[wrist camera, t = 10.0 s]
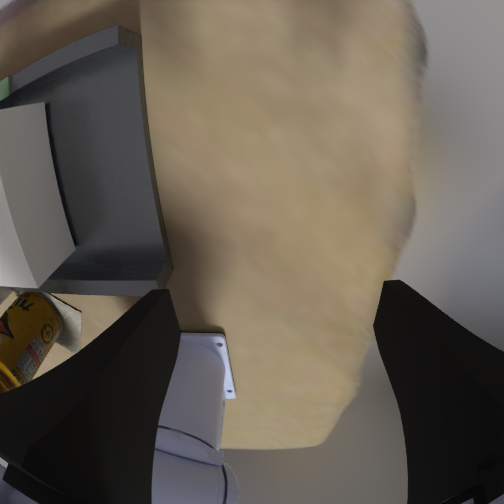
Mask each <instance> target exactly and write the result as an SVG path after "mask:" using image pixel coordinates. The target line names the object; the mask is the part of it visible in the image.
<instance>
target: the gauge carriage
mask: <svg viewBox="0 0 504 504" xmlns="http://www.w3.org/2000/svg"><path fill="white" fill-rule="evenodd" d="M75 250H76V249H75V246H74V243H73V240H72V237H71V233H70V230H69V227H68V223H67V220H66V216H65V213H64V209H63V205H62V201H61V197H60V193H59V189H58V185H57V180H56V176H55V171H54V166H53V161H52V155H51V149H50V143H49V137H48V130H47V122H46V113H45V103H44V102H42V103H35V104H29V105H23V106H17V107H11V108H6V109H1V110H0V286H6V287H22V288H39V287H40V286H41V285H42V284H43V283H44V282H45V281H46V279H47V278H48V277H49V276H50V275H51V274H52V273H53V272H54V271H55V270H56V269H57V268H58V267H59V266H60V265H61V264H62V263H63V262H64V261H65V260H66V259H67V258H68V257H69V256H70V255H71V254H72V253H73V252H74V251H75Z"/></svg>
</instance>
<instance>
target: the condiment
mask: <svg viewBox="0 0 504 504" xmlns="http://www.w3.org/2000/svg"><path fill="white" fill-rule="evenodd" d="M61 313H62V314H63V315H62V314H61ZM81 315H82V313H80V312H79V311H77V310H74V309H73V308H71V307H70V306H68V305H65V304H64V303H62V302H61V301H59V300H57V299H55V298H54V297H52V296H51V295H49V294H48V293H41V292H26V291H19V297H18V298H17V299H16V300H15V301H14V302H13V304H12V305H11V306H10V307H9V308H8V309H7V310H6V311H5V312H4V314H3V315H2V316H1V318H0V394H1V393H4V392H7V391H9V390H12V389H14V388H17V387H19V386H21V385H23V384H25V383H28V382H30V381H31V380H32V379H33V377H34V375H35V374H36V372H37V370H38V368H39V367H40V365H41V364H42V362H43V360H44V359H45V357H46V355H47V354H48V352H49V351H50V349H51V348H52V346H53V344H54V343H55V342H56V343H58V344H60V345H61V346H64V347H65V348H67V349H68V350H70V351H71V352H73V353H75V354H76V353H77V352H79V351H80V336H81ZM64 316H65V317H66V319H65V318H64Z"/></svg>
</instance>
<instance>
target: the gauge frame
mask: <svg viewBox="0 0 504 504" xmlns="http://www.w3.org/2000/svg"><path fill="white" fill-rule="evenodd" d="M42 102H44V103H45V113H46V122H47V130H48V137H49V143H50V149H51V155H52V161H53V166H54V171H55V176H56V180H57V185H58V189H59V193H60V197H61V201H62V205H63V209H64V213H65V216H66V220H67V223H68V227H69V230H70V233H71V237H72V240H73V243H74V246H75V249H76V250H75V251H74V252H73V253H72V254H71V255H70V256H69V257H68V258H67V259H66V260H65V261H64V262H63V263H62V264H61V265H60V266H59V267H58V268H57V269H56V270H55V271H54V272H53V273H52V274H51V275H50V276H49V277H48V278H47V279H46V281H45V282H44V283H43V284H42V285H41V286H40V287H39V288H22V287H6V286H0V305H1V303H2V302H3V301H4V300H5V299H6V298H7V297H8V296H9V295H10V294H11V293H12V291H26V292H41V293H58V294H79V295H106V296H145V295H146V294H147V293H148V292H150V291H151V290H152V289H164V288H165V286H166V284H167V282H168V280H169V278H170V276H171V273H172V271H173V265H172V260H171V256H170V251H169V246H168V242H167V237H166V232H165V227H164V222H163V217H162V211H161V206H160V200H159V195H158V189H157V183H156V177H155V170H154V164H153V157H152V150H151V142H150V135H149V127H148V118H147V109H146V99H145V88H144V75H143V60H142V40H141V35H139V34H137V33H135V32H133V31H131V30H128V29H126V28H124V27H122V26H119V25H116V26H113V27H110V28H107V29H104V30H102V31H99V32H97V33H94V34H92V35H89V36H87V37H84V38H82V39H80V40H78V41H75V42H73V43H71V44H69V45H67V46H65V47H62V48H60V49H58V50H56V51H54V52H52V53H51V54H49V55H47V56H45V57H43V58H41V59H39V60H38V61H36V62H34V63H32V64H31V65H29V66H27V67H26V68H24V69H22V70H21V71H19V72H18V73H16V74H14V75H13V76H11V77H10V76H7V77H6V78H5V79H3V80H2V81H0V110H1V109H6V108H11V107H17V106H23V105H29V104H35V103H42Z"/></svg>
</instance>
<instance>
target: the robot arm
mask: <svg viewBox="0 0 504 504" xmlns="http://www.w3.org/2000/svg"><path fill="white" fill-rule="evenodd" d="M373 328H374V332H375V336H376V341H377V344H378V349H379V352H380V355H381V358H382V360H383V363H384V366H385V369H386V371H387V374H388V377H389V380H390V382H391V385H392V388H393V391H394V394H395V397H396V399H397V403H398V406H399V410H400V414H401V419H402V425H403V431H404V437H405V445H406V454H407V468H408V501H407V504H504V352H503V351H501V350H499V349H497V348H496V347H494V346H492V345H491V344H489V343H487V342H486V341H484V340H482V339H481V338H479V337H478V336H476V335H474V334H473V333H471V332H470V331H468V330H467V329H466V328H464V327H463V326H461V325H460V324H459V323H457V322H456V321H454V320H453V319H452V318H450V317H449V316H448V315H446V314H445V313H444V312H442V311H441V310H440V309H439V308H437V307H436V306H435V305H433V304H432V303H431V302H429V301H428V300H427V299H426V298H424V297H423V296H422V295H420V294H419V293H418V292H416V291H415V290H414V289H412V288H411V287H410V286H408V285H407V284H405V283H404V282H402V281H401V280H389V281H384V283H383V287H382V292H381V296H380V301H379V305H378V309H377V313H376V317H375V321H374V324H373ZM220 343H221V344H220ZM235 397H236V391H235V386H234V381H233V376H232V371H231V365H230V360H229V355H228V349H227V344H226V338H225V336H224V335H223V334H220V333H181V331H180V327H179V324H178V321H177V317H176V314H175V310H174V307H173V303H172V299H171V296H170V292H169V289H152V290H151V291H150V292H148V293H147V294H146V295H145V296H144V297H142V298H141V299H140V300H139V301H138V302H137V303H136V304H134V305H133V306H132V307H131V308H130V309H129V310H128V311H127V312H126V313H124V314H123V315H122V316H121V317H120V318H119V319H118V320H117V321H116V322H114V323H113V324H112V325H111V326H110V327H109V328H107V329H106V330H105V331H104V332H103V333H101V334H100V335H99V336H98V337H97V338H95V339H94V340H93V341H92V342H91V343H89V344H88V345H87V346H85V347H84V348H83V349H81V350H80V351H79V352H77V353H76V354H75V355H73V356H72V357H70V358H69V359H67V360H66V361H64V362H63V363H61V364H60V365H58V366H56V367H55V368H53V369H51V370H50V371H48V372H46V373H44V374H43V375H41V376H39V377H37V378H35V379H33V380H32V381H30V382H28V383H25V384H23V385H21V386H19V387H17V388H14V389H12V390H9V391H7V392H4V393H1V394H0V457H1V458H2V459H4V460H5V461H6V462H8V463H9V464H8V466H7V469H6V468H5V467H3V466H2V465H1V464H0V504H238V498H239V497H238V496H239V486H238V481H237V478H236V476H235V474H234V472H233V470H232V468H231V467H230V466H229V465H228V464H225V463H223V454H224V452H222V451H218V450H219V448H220V445H221V438H222V429H223V420H224V411H225V402H226V399H234V398H235Z"/></svg>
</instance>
